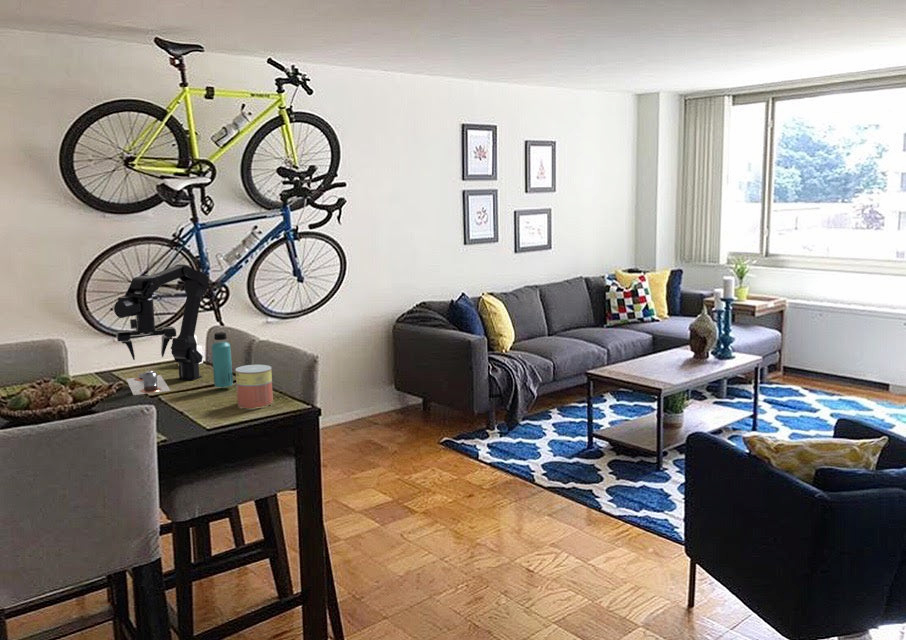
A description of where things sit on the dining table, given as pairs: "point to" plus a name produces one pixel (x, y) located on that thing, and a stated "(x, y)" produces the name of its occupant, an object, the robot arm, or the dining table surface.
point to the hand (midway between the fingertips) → (148, 358)
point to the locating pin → (150, 381)
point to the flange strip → (138, 386)
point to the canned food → (254, 385)
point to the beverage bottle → (222, 361)
